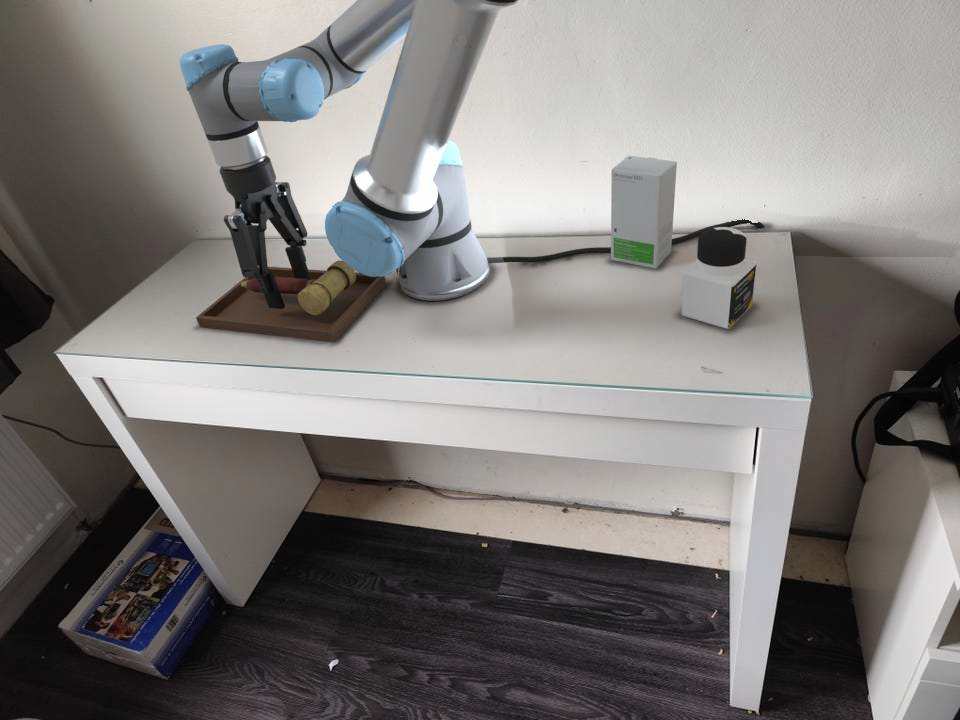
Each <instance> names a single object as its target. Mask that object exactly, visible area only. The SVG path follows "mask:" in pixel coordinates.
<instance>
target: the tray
mask: <svg viewBox="0 0 960 720" xmlns="http://www.w3.org/2000/svg"><path fill="white" fill-rule="evenodd" d="M258 267H259V266H258ZM268 271H272V272H273V274H274V277H275V278H289V279H295V276H294V274H293V271H292V268H291V267H281V266H280V267H278V266H268ZM308 271H309V274H310V277H311V280H318V279H319V278H320V277H321V276H322V275H323V274H325V273H326V272H327V269H326V270H325V269H310V268H308ZM355 273H356V281H355V282H354V283H353V284H352V285H351V286H350V287H349V288H348V289H346V290H343V291H342V292H341V293H340V294H339V295H338V296H337V297H336V298H334V299H333V300H332V301H331V302H330V303H329V306H328V308H327V309H326V310H325V311H324V312H322V313H321V314H320V315H316V316H315V315H311V314H309V313H307V312H306V311H305V310H304V309H303V308H302V307H301V305H300V303H299V301H298V295H299V294H281V296H282V299H283V302H284V304H285V307H284V308H283V309H276V308H269V306H268V303H267V301H266V298H265V295H264V293H256V292H253V291H251V290H249V289H246V288H244V287H242V286H241V283H242V282H246V281H247V280H251V279H253V278H254V277H243V279H241V280H240V281H239V282H237V283H236V284H235V285H234V286H233V287H231V288H230V289H229V290H227V291H226V292H225V293H224V294H223V295H222V296H221V297H219V298H218V299H216V300H215V301H214V302H213V303H211V305H209V306H207V308H205V309H204V310H203V311H201V313H199V314H198V315H197V316H196V317H195V319H196V322H197V324H198V326H199V328H206V329H215V330H223V331H232V332H233V331H234V332H241V333H248V334H249V333H250V334H256V335H257V334H258V335H266V336H267V335H268V336H274V337H275V336H277V337H285V338H293V339H300V340H301V339H302V340H310V341H320V342H329V343H335V342H336V341H337V340H338V338H340V336H341V335H342V334H343V333H344V332H345V331H346V330H347V329H348V327H349V326H350V325H351V324H352V323H353V322H354V321H355V320H356V318H358V316H360V314H361V313H362V312H363V311H364V310H365V309H366V308H367V307H368V305H370V303H371V302H372V301H373V300H374V299H375V298H376V297H377V295H379V293H380V292H381V291H382V290H384V288H385V287H386V285H387V284H388V283H387V280H386V279H387V278H386V276H377V277H371V276H367V275H364V274H361V273H359V272H355Z"/></svg>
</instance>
